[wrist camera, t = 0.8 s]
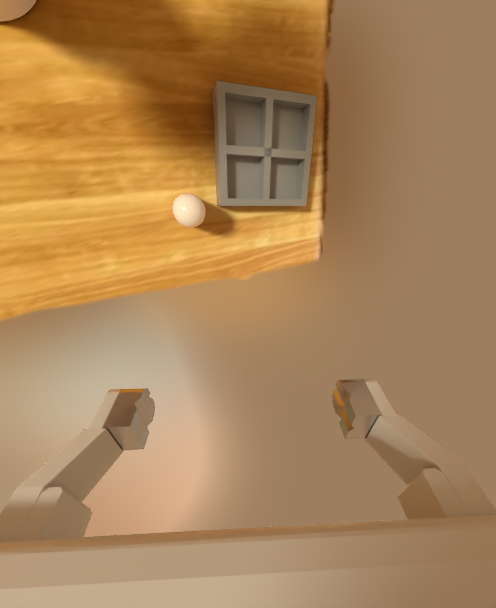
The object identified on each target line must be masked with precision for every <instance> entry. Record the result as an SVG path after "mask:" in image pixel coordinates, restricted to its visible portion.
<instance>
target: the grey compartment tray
mask: <svg viewBox="0 0 496 608" xmlns="http://www.w3.org/2000/svg"><path fill="white" fill-rule="evenodd" d="M212 93H213V117H214V142H215V167H216V191H217V206H306V204H307V194H308V185H309V175H310V165H311V155H312V146H313V136H314V126H315V116H316V106H317V97H318V96H315V95H308V94H302V93H295V92H289V91H282V90H275V89H269V88H262V87H256V86H249V85H242V84H236V83H229V82H223V81H216V84H215V86H214V87H213V90H212Z"/></svg>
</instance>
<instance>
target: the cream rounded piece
mask: <svg viewBox="0 0 496 608" xmlns="http://www.w3.org/2000/svg"><path fill="white" fill-rule="evenodd" d="M172 211H173V214H174V216H175V218H176V220H177V221H178V222H179V223H180V224H181V225H183V226H185V227H196V226H198V225H200V224H201V223H202V222H203V220H204V218H205V214H206V209H205V205H204V203H203V201H202V200H201V199H200V198H199V197H198V196H196V195H194V194H191V193H185V194H181V195H179V196H177V197H176V198H175V199H174V201H173V204H172Z"/></svg>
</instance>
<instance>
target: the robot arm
mask: <svg viewBox="0 0 496 608" xmlns="http://www.w3.org/2000/svg"><path fill="white" fill-rule="evenodd" d="M36 1H37V0H0V21H9V20H13V19H16V18H19V17H21V16H22V15H24V14H26V13H27V12H28V11H29V10H30V9H31V8H32V7H33V5H34V4H35V2H36ZM336 387H337V389H336V390H335V391H334V392H333V395H332V402H333V407H334V410H335V413H336V414H337V415H338V416H339V417H340V418H341V420H340V423H339V424H340V427H341V429H342V432H343V435H344V438H345V439H366V441H367V443H368V444H369V445H370V446H371V447H372V448H373V449H374V450H375V451H376V452H377V453H378V454H379V455H380V456H381V457H382V459H383V460H384V461H385V462H386V463H387V464H388V465H389V466H390V467H391V468H392V469H393V470H394V472H395V473H396V474H397V475H398V476H399V477H400V478H401V479H402V480H403V481H404V482H405V483H406V484H407V486H406V487H405V488H404V489H403V490H402V491H401V492H400V493H399V495H398V499H399V501H400V503H401V506H402V508H403V510H404V512H405V515H406V517H407V519H405V520H389V521H388V520H387V521H370V522H369V521H368V522H351V523H333V524H314V525H297V526H277V527H259V528H241V529H223V530H205V531H188V532H187V531H186V532H170V533H169V532H168V533H150V534H133V535H132V534H131V535H113V536H95V537H83V536H84V534H85V531H86V528H87V525H88V523H89V520H90V517H91V514H92V512H91V509H90V508H88V507H87V506H86V505H84V504H83V503H82V501H83V500H84V498H85V497H86V496H87V495H88V494H89V492H90V491H91V490H92V489H93V488H94V486H95V485H96V484H97V483H98V481H99V480H100V479H101V478H102V477H103V476H104V474H105V473H106V472H107V471H108V469H109V468H110V467H111V466H112V465H113V463H114V462H115V461H116V460H117V459H118V457H119V456H120V455H121V454H122V452H123V451H124V450H137V449H144V447H145V444H146V440H147V437H148V434H149V431H148V429H147V426H148V425H149V424H150V423H151V422H152V420H153V416H154V410H155V405H154V401H153V399H152V398H150V397H149V395H150V392H149V390H148V389H147V388H146V389H114V390H109V391H108V392H107V393H106V395H105V397H104V399H103V401H102V403H101V405H100V407H99V409H98V411H97V413H96V415H95V417H94V419H93V421H92V422H91V425H90V426H89V428H88V429H84V430H83V431H82V432H81V433H80V434H79V435H77V436H76V437H75V438H74V439H73V440H71V441H70V442H69V443H68V444H67V445H66V446H64V447H63V448H62V449H61V450H60V451H59V452H58V453H56V454H55V455H54V456H53V457H52V458H51V459H49V460H48V461H47V462H46V463H45V464H44V465H43V466H41V467H40V468H39V469H38V470H37V471H36V472H34V473H33V474H32V475H31V476H30V477H29V478H27V479H26V480H25V481H24V482H23V483H22V484H21V485H20V486H18V487H17V488H16V490H15V491H14V493H13V495H12V496H11V498H10V499H9V501H8V503H7V504H6V506H5V507H4V509H3V511H2V512H1V514H0V608H496V509H495V507H494V506H493V504H492V503H491V501H490V500H489V498H488V497H487V496H486V494H485V493H484V492H483V490H482V488H481V487H480V485H479V484H478V483H477V481H476V480H475V478H474V477H473V475H472V474H471V473H470V471H469V470H468V468H467V467H466V465H464V464H463V463H462V462H460V461H459V460H458V459H456V458H455V457H454V456H453V455H451V454H450V453H449V452H447V451H446V450H445V449H443V448H442V447H441V446H439V445H438V444H437V443H436V442H434V441H433V440H432V439H430V438H429V437H428V436H426V435H425V434H424V433H423V432H421V431H420V430H419V429H417V428H416V427H415V426H413V425H412V424H411V423H410V422H408V421H407V420H406V419H404V418H403V417H402V416H401V415H396V414H395V412H394V410H393V409H392V407H391V405H390V403H389V402H388V400H387V398H386V397H385V395H384V393H383V391H382V390H381V388H380V386H379V385H378V383H377V381H376V380H375V379H372V378H370V379H347V380H338V381H337V383H336Z"/></svg>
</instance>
